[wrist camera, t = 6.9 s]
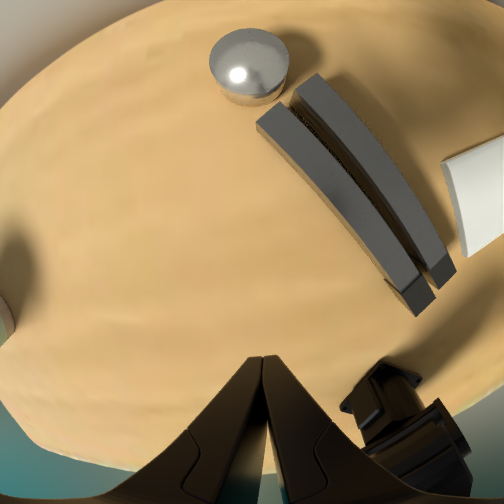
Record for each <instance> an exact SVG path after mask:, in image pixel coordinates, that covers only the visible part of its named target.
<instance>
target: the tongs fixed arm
mask: <svg viewBox="0 0 504 504" xmlns="http://www.w3.org/2000/svg"><path fill="white" fill-rule="evenodd" d="M290 105H291V106H292V107H293V108H294V109H295V110H296V112H297V113H298V114H299V115H300V116H301V117H302V118H303V119H304V120H305V121H306V122H307V123H308V124H309V125H310V126H311V127H312V129H313V130H314V131H315V132H316V133H317V134H318V135H319V136H320V137H321V139H322V140H323V141H324V142H325V143H326V144H327V145H328V147H329V148H330V149H331V150H332V151H333V152H334V154H335V155H336V156H337V157H338V158H339V160H340V161H341V162H342V163H343V164H344V166H345V167H346V168H347V169H348V171H349V172H350V173H351V174H352V176H353V177H354V178H355V180H356V181H357V182H358V183H359V185H360V186H361V187H362V189H363V190H364V191H365V193H366V194H367V195H368V197H369V198H370V199H371V201H372V202H373V204H374V205H375V206H376V208H377V209H378V211H379V212H380V213H381V215H382V216H383V218H384V219H385V221H386V222H387V223H388V225H389V226H390V228H391V229H392V231H393V232H394V234H395V235H396V237H397V239H398V240H399V242H400V243H401V245H402V246H403V248H404V249H405V251H406V253H407V255H408V256H409V258H410V259H411V261H412V262H413V264H414V265H415V267H416V269H417V270H418V272H420V273H421V274H423V276H424V278H425V279H426V281H427V282H428V283H430V284H431V285H433V286H434V287H435V288H437V289H438V290H439V289H440V288H441V287H442V286H443V285H444V284H445V283H446V282H447V281H448V280H449V279H450V278H451V277H452V276H453V275H454V274H455V273H456V272H457V271H456V268H455V266H454V264H453V262H452V260H451V258H450V255H449V253H448V251H447V249H446V247H445V246H444V245H443V243H442V241H441V239H440V237H439V235H438V233H437V231H436V230H435V228H434V226H433V224H432V222H431V221H430V219H429V217H428V215H427V214H426V212H425V210H424V208H423V207H422V205H421V203H420V202H419V200H418V198H417V197H416V195H415V194H414V192H413V190H412V189H411V187H410V186H409V184H408V183H407V181H406V180H405V178H404V177H403V175H402V174H401V172H400V171H399V169H398V168H397V166H396V165H395V164H394V162H393V161H392V159H391V158H390V157H389V155H388V154H387V153H386V151H385V150H384V149H383V147H382V146H381V145H380V143H379V142H378V141H377V139H376V138H375V137H374V136H373V134H372V133H371V132H370V130H369V129H368V128H367V127H366V126H365V124H364V123H363V122H362V121H361V120H360V118H359V117H358V116H357V115H356V114H355V113H354V111H353V110H352V109H351V108H350V107H349V106H348V105H347V103H346V102H345V101H344V100H343V99H342V98H341V97H340V96H339V95H338V94H337V93H336V91H335V90H334V89H333V88H332V87H331V86H330V85H329V84H328V83H327V82H326V81H325V80H324V79H323V78H322V77H321V76H320V75H319V74H318V73H316V74H315V75H314V76H312V77H311V78H309V79H308V80H307V81H305V82H304V83H303V84H301V85H300V86H299V87H297V88H296V89H295V90H294V93H293V95H292V98H291V101H290Z"/></svg>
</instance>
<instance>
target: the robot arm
mask: <svg viewBox="0 0 504 504" xmlns="http://www.w3.org/2000/svg"><path fill="white" fill-rule="evenodd" d="M382 365H383V366H382ZM381 366H382V367H381ZM421 381H422V377H421V375H419V374H417V373H414V372H411V371H409V370H406V369H404V368H401V367H399V366H396V365H394V364H391V363H389V362H386V361H380V362H378V363H377V364H376V365H375V367H374V368H373V369H372V370H371V371H370V373H369V374H368V375H367V376H366V377H365V378H364V379H363V381H362V382H361V383H360V384H359V385H358V386H357V387H356V388H355V390H354V391H353V392H352V393H351V394H350V395H349V396H348V397H347V398H346V399H345V400H344V401H343V402H342V403H341V404H340V406H339V408H340V411H342V412H345V413H349V414H353V415H354V418H355V421H356V424H357V427H358V429H360V431H361V434H362V437H363V440H364V443H365V447H363V448H361V449H360V448H359V447H357V446H356V445H355V444H354V443H353V442H352V441H351V440H350V439H349V438H348V437H347V436H346V435H345V434H344V433H343V432H342V431H341V430H340V429H339V427H338V426H337V425H336V424H335V423H334V422H332V420H331V418H330V417H329V416H328V415H327V414H326V413H325V412H324V410H323V409H322V408H321V407H320V406H319V405H318V403H317V402H316V401H315V400H314V399H313V397H312V396H311V395H310V394H309V393H308V392H307V390H306V389H305V388H304V387H303V386H302V384H301V383H300V382H299V381H298V380H297V378H296V377H295V376H294V375H293V373H292V372H291V371H290V370H289V369H288V367H287V366H286V365H285V364H284V362H283V361H282V360H281V359H280V357H279V356H278V355H269V356H264V357H261V356H257V357H249V358H247V360H246V361H245V362H244V363H243V364H242V366H241V367H240V368H239V369H238V370H237V372H236V373H235V374H234V375H233V376H232V377H231V379H230V380H229V381H228V382H227V383H226V384H225V386H224V387H223V388H222V389H221V390H220V391H219V393H218V394H217V395H216V396H215V397H214V398H213V399H212V401H211V402H210V403H209V404H208V405H207V406H206V407H205V408H204V410H203V411H202V412H201V413H200V414H199V415H198V416H197V417H196V418H195V419H194V421H193V422H192V423H191V424H190V425H189V426H188V427H187V429H185V430H184V431H183V432H182V433H181V434H180V435H179V436H178V437H177V438H176V439H175V440H174V441H173V442H172V443H171V444H170V445H169V446H168V447H167V448H166V449H165V450H164V451H163V452H162V453H160V454H159V455H158V456H157V457H155V458H154V459H153V460H152V461H151V462H149V463H148V464H147V465H145V466H144V467H143V468H141V469H140V470H139V471H137V472H136V473H135V474H133V475H132V476H130V477H129V478H128V479H126V480H125V481H123V482H122V483H120V484H119V485H118V486H116V487H115V488H113V489H111V490H109V491H107V492H105V493H103V494H100V495H97V496H93V497H85V498H70V499H33V498H19V497H12V496H8V495H4V494H1V493H0V504H257V503H258V496H259V489H260V482H261V475H262V468H263V460H264V452H265V444H266V436H267V421H268V428H269V434H270V440H271V445H272V450H273V456H274V461H275V466H276V471H277V476H278V481H279V486H280V491H281V496H282V501H283V504H504V497H503V498H471V497H470V492H471V487H472V482H473V477H472V475H471V473H470V471H469V469H468V467H467V465H466V463H465V461H464V459H465V458H466V457H467V456H469V455H470V454H471V453H472V452H471V449H470V447H469V445H468V443H467V441H466V439H465V437H464V436H463V434H462V432H461V431H460V429H459V427H458V426H457V424H456V423H455V421H454V420H453V418H452V417H451V415H450V414H449V412H448V411H447V409H446V408H445V406H444V405H443V403H442V402H441V401H440V399H439V398H437V399H436V400H434V401H433V403H432V404H431V405H429V406H428V407H427V408H425V406H424V404H423V403H422V401H421V399H420V398H419V396H418V394H417V393H416V391H415V388H416V387H417V386H418V385H419V384H420V382H421Z"/></svg>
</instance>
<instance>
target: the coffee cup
mask: <svg viewBox="0 0 504 504" xmlns="http://www.w3.org/2000/svg"><path fill="white" fill-rule="evenodd" d="M14 329H15V326H14V320H13V317H12V314H11V312H10V309H9V307H8V306H7V304H6V302H5V301H4V299H3V298H2V297H1V296H0V347H1V346H2V345H3V344H4V343H5V342H6V341H7V339H8V338H9V337H10V336H11V335H12V334H13V333H14Z"/></svg>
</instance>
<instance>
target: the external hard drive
mask: <svg viewBox="0 0 504 504" xmlns="http://www.w3.org/2000/svg"><path fill="white" fill-rule="evenodd" d="M441 166H442V170H443V173H444V176H445V179H446V183H447V186H448V190H449V194H450V197H451V201H452V205H453V209H454V214H455V218H456V223H457V228H458V233H459V238H460V244H461V250H462V256H465V257H467V258H469V257H470V256H471V255H473V254H474V253H476V252H477V251H479V250H480V249H482V248H483V247H485V246H486V245H487V244H489V243H490V242H492V241H493V240H494V239H496V238H497V237H498V236H500V235H501V234H502V233H504V135H502V136H500V137H497V138H495V139H493V140H490V141H488V142H486V143H484V144H481V145H479V146H477V147H475V148H472V149H470V150H468V151H465V152H463V153H461V154H459V155H456V156H454V157H452V158H449V159H447V160H445V161H443V162H441Z"/></svg>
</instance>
